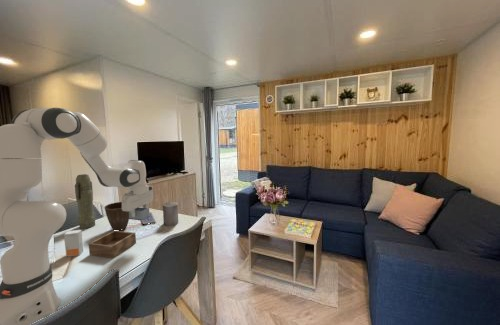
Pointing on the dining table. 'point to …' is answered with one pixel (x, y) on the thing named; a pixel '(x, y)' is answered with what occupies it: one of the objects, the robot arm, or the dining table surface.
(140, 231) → the dining table surface
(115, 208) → the plant pot
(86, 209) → the thermos
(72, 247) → the skincare box
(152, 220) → the solar panel
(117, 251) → the big crate
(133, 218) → the box
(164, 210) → the pillar candle
